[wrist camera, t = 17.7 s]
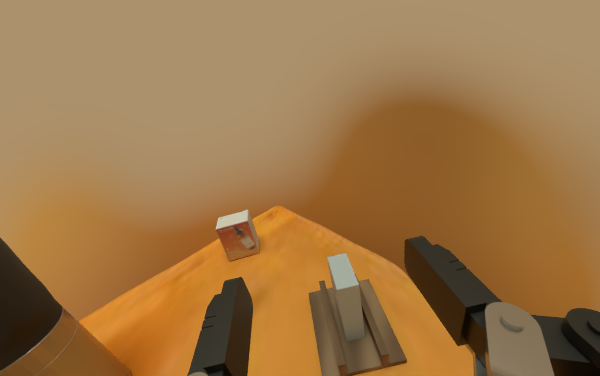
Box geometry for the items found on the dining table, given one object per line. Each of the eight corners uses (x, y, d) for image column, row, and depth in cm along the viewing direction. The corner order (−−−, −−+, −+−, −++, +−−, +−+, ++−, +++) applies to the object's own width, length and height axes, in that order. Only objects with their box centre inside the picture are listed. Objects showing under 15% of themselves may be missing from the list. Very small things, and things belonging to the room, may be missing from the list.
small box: (229, 262, 57) (214, 229, 53) (231, 247, 62) (217, 217, 58) (260, 253, 58) (247, 220, 53) (259, 240, 63) (248, 208, 58)
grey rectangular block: (346, 341, 35) (336, 289, 29) (336, 306, 40) (327, 257, 35) (365, 337, 35) (359, 284, 29) (352, 302, 40) (345, 253, 35)
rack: (323, 382, 32) (320, 370, 30) (309, 295, 44) (306, 284, 43) (406, 362, 32) (406, 349, 30) (368, 282, 44) (367, 270, 43)
